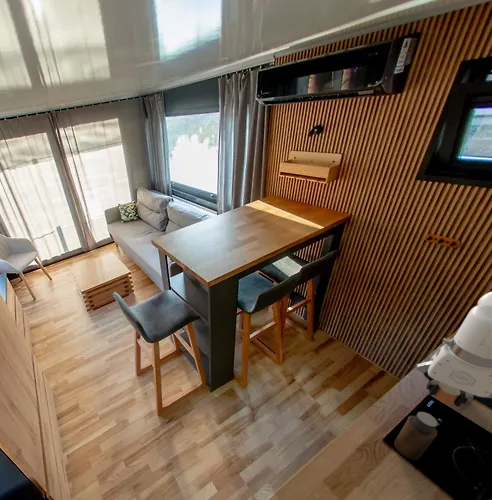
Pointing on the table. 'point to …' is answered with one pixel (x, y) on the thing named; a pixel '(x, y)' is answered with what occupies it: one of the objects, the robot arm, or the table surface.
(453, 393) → the orange jar cap
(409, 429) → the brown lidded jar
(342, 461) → the table surface
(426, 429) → the grey short cylinder
